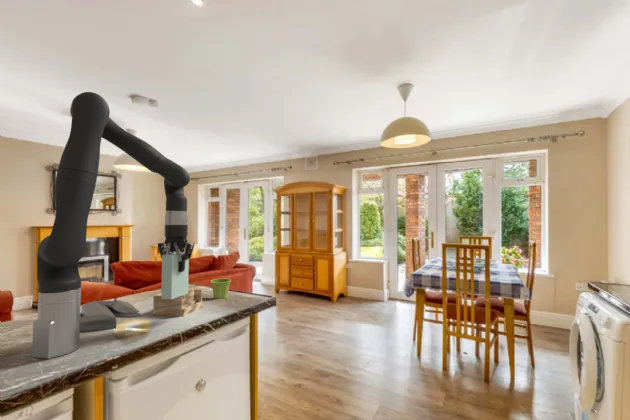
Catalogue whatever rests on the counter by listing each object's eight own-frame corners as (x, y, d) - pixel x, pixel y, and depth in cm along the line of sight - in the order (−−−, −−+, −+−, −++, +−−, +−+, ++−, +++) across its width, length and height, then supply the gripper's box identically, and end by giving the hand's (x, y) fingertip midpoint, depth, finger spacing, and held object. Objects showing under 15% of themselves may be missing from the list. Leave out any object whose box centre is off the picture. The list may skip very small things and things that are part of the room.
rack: (182, 319, 111) (183, 297, 112) (153, 316, 114) (153, 295, 115) (203, 309, 124) (203, 289, 124) (176, 307, 127) (176, 288, 127)
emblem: (158, 299, 121) (92, 322, 94) (158, 312, 121) (91, 339, 94) (103, 295, 127) (26, 315, 100) (102, 308, 127) (25, 331, 100)
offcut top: (183, 298, 116) (183, 292, 116) (175, 297, 117) (175, 291, 117) (194, 295, 122) (194, 288, 122) (186, 294, 123) (186, 288, 123)
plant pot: (233, 299, 139) (233, 281, 140) (212, 302, 135) (212, 283, 135) (228, 295, 147) (228, 277, 148) (208, 297, 143) (208, 279, 143)
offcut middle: (181, 306, 114) (181, 299, 114) (171, 305, 115) (171, 299, 115) (193, 301, 122) (193, 294, 122) (184, 300, 123) (184, 294, 123)
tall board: (171, 299, 101) (172, 255, 102) (161, 298, 102) (162, 255, 103) (188, 293, 110) (188, 252, 111) (178, 292, 111) (179, 252, 112)
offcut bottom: (179, 314, 113) (179, 306, 114) (170, 314, 114) (170, 306, 115) (196, 307, 123) (196, 300, 123) (187, 306, 124) (187, 299, 124)
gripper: (151, 223, 105) (150, 272, 105) (186, 223, 102) (186, 274, 101) (166, 223, 112) (166, 269, 112) (200, 223, 109) (199, 270, 109)
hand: (175, 271), depth 107 cm, fingers closed on tall board, 4 cm apart
